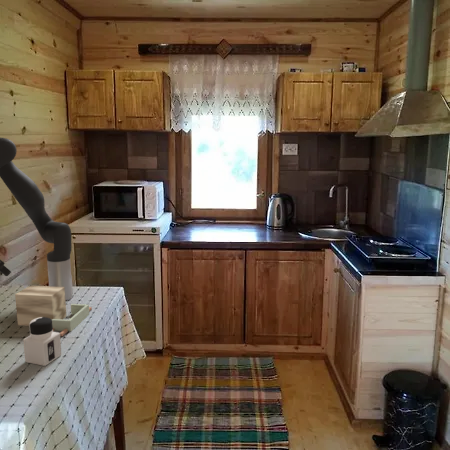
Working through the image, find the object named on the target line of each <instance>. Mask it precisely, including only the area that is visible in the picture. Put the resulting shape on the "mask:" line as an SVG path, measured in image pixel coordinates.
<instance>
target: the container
mask: <svg viewBox="0 0 450 450" xmlns="http://www.w3.org/2000/svg"><path fill="white" fill-rule="evenodd" d="M28 327H29V335H28V336H26V337H25V338H23V349H24V350H23V352H24V362H25V363H28V364H33V365H39V366H43V367H46V366H47V365H49V364H50V363H52V362H53V361H55V360H57V358H59V357H61V356H62V344H61V343H62V342H61V337H60V333H58V332H53V326H52V320H51V319H50V318H47V317H40V318H36V319H34V320H32V321H31V322H30V323H29V326H28Z"/></svg>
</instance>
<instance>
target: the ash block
mask: <svg viewBox="0 0 450 450" xmlns="http://www.w3.org/2000/svg"><path fill="white" fill-rule="evenodd" d="M14 296H15V297H14V298H15V307H16V319H17V320H16V321H17V325H18V326H24V327H25V326H28V327H29V323H30V322H31V321H32V320H34V319H36V318H40V317H47V318H50V319H51V320H52V319H63V320H65V319H66V317H67V303H66V302H67V301H66V300H65V287H51V286H49V285H48V286H47V285H45V286H44V285H29V286H27V287H25V288H23V289H22V290H21V291H19V292H17V293H15V294H14Z"/></svg>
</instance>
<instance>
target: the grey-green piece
mask: <svg viewBox="0 0 450 450" xmlns="http://www.w3.org/2000/svg"><path fill="white" fill-rule="evenodd" d="M92 308H93V307H92V306H90V304H86V303H84V304H83V303H82V304H79V303H71V304H70V313H71V315H72V317H70V318H69V319H52V326H53V332H58V333H60V338H63V337H64V336H65V335H66V334H68V332H72V331H73V330H75V329H76V328H77V327H78V326H79V325H80V324H81V323H82V322H83V321H84V320H85V319H86V318H87V317H88V316H90V312H91V311H92V310H93V309H92Z"/></svg>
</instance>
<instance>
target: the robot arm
mask: <svg viewBox="0 0 450 450" xmlns="http://www.w3.org/2000/svg"><path fill="white" fill-rule="evenodd" d="M17 152H18V151H17V146H16V144H15V143H14V142H13V140H12V139H9V138H6V137H0V179H1V180H2V181H3V183H4V184H5V187H7V189H8V190H9V192H10V193H11V194H12V197H14V199H15V200H16V201H17V203H18V204H19V206H21V208H22V209H23V211H24V212H25V213H26V215H27V216H28V217H29V219H30V220H31V222H32V224H33V225H34V226H35V228H36V230H37V232H38V233H39V236H40V237H41V239H42V240H43V241H44V242H46V243H48V244H53V250H52V251H49V252H47V254H46V261H47V262H46V263H47V276H48V277H47V278H48V286H51V287H65V301H69V300H70V299H72V298H73V296H74V295H73V293H74V292H73V290H74V289H73V277H72V265H71V253H72V249H73V247H72V229H71V227H70V225H69V224H68V223H67V222H60V221H54V219H52V218H51V217H50V216H49V214H48V213H47V211H46V208H45V207H46V206H45V197H44V195H43V192H42V191H41V190H40V188H39V187H38V185H37V184H36V183H35V181H34V180H33V179H32V178H31V177H29V175H27V174H26V173H25V172H24V171H22V170H21V169H20V168H19V167H17V165H15V163H14V162H13V160H14V159H15V158H16V155H17ZM5 264H6V263H5V262H4V261H3V260H1V259H0V273H1V274H3V275H4V276H5V277H8V276H9V275H10V274H11V273H12V272H11V270H10V269H9V268H7V266H5Z"/></svg>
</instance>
